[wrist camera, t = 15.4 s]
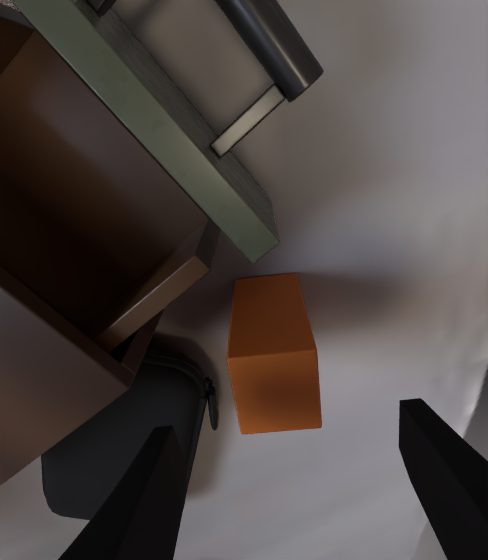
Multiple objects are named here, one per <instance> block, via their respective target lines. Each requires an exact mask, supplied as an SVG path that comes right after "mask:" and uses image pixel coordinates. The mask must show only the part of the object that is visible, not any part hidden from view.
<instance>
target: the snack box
mask: <svg viewBox="0 0 488 560" xmlns="http://www.w3.org/2000/svg"><path fill="white" fill-rule="evenodd" d="M227 364H228V369H229V375H230V380H231V385H232V390H233V395H234V400H235V405H236V410H237V416H238V421H239V426H240V431H241V434H254V433H266V432H278V431H290V430H302V429H314V428H321V426H322V419H321V404H320V388H319V372H318V356H317V348H316V345H315V341H314V337H313V333H312V330H311V326H310V322H309V318H308V314H307V311H306V307H305V303H304V299H303V296H302V292H301V288H300V284H299V281H298V277H297V274H296V273H289V274H281V275H272V276H263V277H255V278H246V279H237V280H235V281H234V291H233V301H232V311H231V321H230V331H229V341H228V351H227Z"/></svg>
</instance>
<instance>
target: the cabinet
mask: <svg viewBox="0 0 488 560" xmlns="http://www.w3.org/2000/svg"><path fill="white" fill-rule="evenodd" d="M163 310H164V309H162V310H161V311H160V312H159V313H158V314H156V315H155V316H154V317H153V318H151V319H150V320H149V321H148V322H146V323H145V324H144V325H143V326H142V327H140V328H139V329H138V330H137V331H135V332H134V333H133V334H132V335H130V336H129V337H128V338H127V339H125V340H124V341H123V342H122V343H121V344H119V345H118V346H117V347H116V348H114V349H113V350H112V351H111V352H109V353H107V352H105V351H104V350H103V349H102V348H101V347H99V346H98V345H97V344H96V343H94V342H93V341H92V340H91V339H89V338H88V337H87V336H86V335H85V334H83V333H82V332H81V331H80V330H78V329H77V328H76V327H75V326H73V325H72V324H71V323H70V322H69V321H67V320H66V319H65V318H64V317H62V316H61V315H60V314H59V313H57V312H56V311H55V310H54V309H53V308H51V307H50V306H49V305H48V304H46V303H45V302H44V301H43V300H41V299H40V298H39V297H38V296H36V295H35V294H34V293H33V292H32V291H30V290H29V289H28V288H27V287H25V286H24V285H23V284H22V283H20V282H19V281H18V280H17V279H16V278H14V277H13V276H12V275H11V274H9V273H8V272H7V271H6V270H4V269H3V268H2V267H1V266H0V485H1V484H3V483H4V482H5V481H7V480H8V479H9V478H11V477H12V476H14V475H15V474H16V473H18V472H19V471H20V470H22V469H23V468H24V467H26V466H27V465H28V464H30V463H31V462H32V461H34V460H35V459H36V458H38V457H39V456H40V455H42V454H43V453H44V452H46V451H47V450H48V449H50V448H51V447H52V446H54V445H55V444H56V443H58V442H59V441H60V440H62V439H63V438H64V437H66V436H67V435H68V434H70V433H71V432H72V431H74V430H75V429H76V428H78V427H79V426H80V425H82V424H83V423H84V422H86V421H87V420H89V419H90V418H91V417H93V416H94V415H95V414H97V413H98V412H99V411H101V410H102V409H103V408H105V407H106V406H107V405H109V404H110V403H111V402H113V401H114V400H115V399H117V398H118V397H119V396H121V395H122V394H123V393H125V392H126V391H127V390H129V389H130V386H131V384H132V382H133V379H134V377H135V375H136V373H137V370H138V368H139V366H140V363H141V361H142V359H143V356H144V354H145V352H146V349H147V347H148V345H149V343H150V340H151V338H152V336H153V333H154V331H155V329H156V326H157V324H158V322H159V319H160V317H161V315H162V313H163Z"/></svg>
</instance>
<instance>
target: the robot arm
mask: <svg viewBox="0 0 488 560" xmlns="http://www.w3.org/2000/svg"><path fill="white" fill-rule="evenodd" d="M399 449H400V452H401V455H402V458H403V461H404V464H405V467H406V470H407V472H408V475H409V478H410V481H411V483H412V485H413V487H414V490H415V492H416V494H417V496H418V498H419V500H420V502H421V505H422V507H423V509H424V511H425V513H426V515H427V517H428V519H429V522H430V523H431V526H432V528H433V530H434V532H435V534H436V536H437V538H438V540H439V542H440V545H441V547H442V549H443V551H444V553H445V555H446V557H447V559H448V560H488V461H487V460H486V459H485V458H484V457H482V456H481V455H480V454H479V453H478V452H477V451H476V450H474V449H473V448H472V447H471V446H470V445H469V444H468V443H467V442H466V441H465V440H464V439H462V438H461V437H460V436H459V435H458V434H457V433H456V432H455V431H454V430H453V429H452V428H451V427H450V426H449V425H448V424H447V423H446V422H445V421H444V420H442V419H441V418H440V417H439V416H438V415H437V414H436V413H435V412H434V411H433V410H432V409H431V408H430V407H429V406H428V405H427V404H426V403H425V402H424V401H423V400H422V399H421V398H418V399H409V400H400V415H399ZM186 480H187V465H186V462H185V459H184V456H183V453H182V450H181V448H180V445H179V442H178V439H177V436H176V433H175V430H174V427H173V425H170V426H161V427H155V428H154V429H153V430H152V432H151V433H150V435H149V436H148V438H147V439H146V441H145V442H144V444H143V446H142V447H141V449H140V450H139V452H138V453H137V455H136V456H135V458H134V459H133V461H132V463H131V464H130V466H129V467H128V469H127V470H126V472H125V473H124V474H123V476H122V477H121V479H120V480H119V482H118V483H117V485H116V486H115V488H114V489H113V490H112V492H111V493H110V495H109V496H108V497H107V499H106V500H105V501H104V503H103V504H102V505H101V507H100V508H99V509H98V511H97V512H96V513H95V515H94V516H93V517H92V519H91V520H90V521H89V523H88V524H87V525H86V526H85V528H84V529H83V530H82V532H81V533H80V534H79V535H78V536H77V538H76V539H75V540H74V541H73V542H72V544H71V545H70V546H69V547H68V548H67V550H66V551H65V552H64V553H63V554H62V555H61V557H60V558H59V559H58V560H173V557H174V552H175V547H176V542H177V537H178V532H179V527H180V522H181V517H182V512H183V507H184V501H185V491H186Z"/></svg>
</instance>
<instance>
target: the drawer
mask: <svg viewBox="0 0 488 560" xmlns="http://www.w3.org/2000/svg"><path fill="white" fill-rule="evenodd" d="M10 1H11V2H12V3H13V4H14V5H15V6H16V7H17V8H18V9H19V10H20V11H21V12H20V11H17V10H15V9H13V8H11V7H8V6H6V5H3V4H1V3H0V266H1V267H2V268H3V269H4V270H6V271H7V272H8V273H9V274H11V275H12V276H13V277H14V278H16V279H17V280H18V281H19V282H20V283H22V284H23V285H24V286H25V287H27V288H28V289H29V290H30V291H32V292H33V293H34V294H35V295H36V296H38V297H39V298H40V299H41V300H43V301H44V302H45V303H46V304H48V305H49V306H50V307H51V308H53V309H54V310H55V311H56V312H57V313H59V314H60V315H61V316H62V317H64V318H65V319H66V320H67V321H69V322H70V323H71V324H72V325H73V326H75V327H76V328H77V329H78V330H80V331H81V332H82V333H83V334H85V335H86V336H87V337H88V338H89V339H91V340H92V341H93V342H94V343H96V344H97V345H98V346H99V347H101V348H102V349H103V350H104V351H105V352H107V353H109V352H111V351H112V350H113V349H114V348H116V347H117V346H118V345H119V344H121V343H122V342H123V341H124V340H125V339H127V338H128V337H129V336H130V335H132V334H133V333H134V332H135V331H137V330H138V329H139V328H140V327H142V326H143V325H144V324H145V323H146V322H148V321H149V320H150V319H151V318H153V317H154V316H155V315H156V314H158V313H159V312H160V311H161V310H162V309H164V308H165V307H166V306H167V305H169V304H170V303H171V302H172V301H174V300H175V299H176V298H177V297H179V296H180V295H181V294H182V293H183V292H185V291H186V290H187V289H188V288H190V287H191V286H192V285H193V284H195V283H196V282H197V281H198V280H199V279H201V278H202V277H203V276H204V275H206V274H207V273H208V272H209V271H210V270H211V266H212V262H213V258H214V254H215V250H216V246H217V242H218V238H219V234H220V230H222V231H223V232H224V233H225V234H226V236H227V237H228V238H229V239H230V240H231V241H232V242H233V243H234V244H235V245H236V246H237V248H238V249H239V250H240V251H241V252H242V253H243V254H244V255H245V256H246V257H247V258H248V259H249V261H250V262H251V263H255V262H256V261H257V260H259V259H260V258H261V257H262V256H264V255H265V254H266V253H268V252H269V251H270V250H271V249H273V248H274V247H275V246H276V245H278V244H279V243H280V241H279V236H278V231H277V226H276V222H275V217H274V212H273V207H272V202H271V200H270V199H269V198H268V196H267V195H266V194H265V193H264V192H263V190H262V189H261V188H260V187H259V186H258V184H257V183H256V182H255V181H254V180H253V178H252V177H251V176H250V175H249V174H248V172H247V171H246V170H245V169H244V168H243V166H242V165H241V164H240V163H239V162H238V160H237V159H236V158H235V157H234V156H233V154H232V153H231V152H230V150H231V149H232V148H233V147H234V146H235V145H236V144H237V143H238V142H240V141H241V140H242V139H243V138H244V137H245V136H246V135H247V134H248V133H249V132H250V131H251V130H253V129H254V128H255V127H256V126H257V125H258V124H259V123H260V122H261V121H262V120H263V119H264V118H265V117H267V116H268V115H269V114H270V113H271V112H272V111H273V110H274V109H275V108H276V107H277V106H278V105H280V104H281V103H282V102H283V101H284V100H285V98H286V99H287V101H288V102H289V103H290V102H292V101H293V100H295V99H296V98H297V97H298V96H300V95H301V94H302V93H303V92H304V91H305V90H306V89H308V88H309V87H310V86H311V85H312V84H313V83H314V82H315V81H316V80H317V79H318V78H319V77H320V76H321V75H322V74H323V72H324V70H323V69H322V67H321V66H320V64H319V63H318V61H317V60H316V58H315V57H314V55H313V54H312V52H311V51H310V49H309V48H308V46H307V45H306V43H305V42H304V40H303V39H302V37H301V36H300V34H299V33H298V31H297V30H296V28H295V27H294V25H293V24H292V22H291V21H290V20H289V18H288V17H287V15H286V14H285V12H284V11H283V9H282V8H281V6H280V5H279V3H278V2H277V0H214V1H215V2H216V4H217V5H218V6H219V8H220V9H221V10H222V12H223V13H224V14H225V16H226V17H227V19H228V20H229V21H230V23H231V24H232V25H233V27H234V28H235V30H236V31H237V32H238V34H239V35H240V36H241V38H242V39H243V40H244V42H245V43H246V45H247V46H248V47H249V49H250V50H251V51H252V53H253V54H254V56H255V57H256V58H257V60H258V61H259V62H260V64H261V65H262V66H263V68H264V69H265V71H266V72H267V73H268V75H269V76H270V77H271V79H272V80H273V82H274V84H273V85H271V86H270V87H269V88H268V89H267V90H266V91H265V92H264V93H263V94H262V95H261V96H260V97H259V98H258V99H257V100H256V101H255V102H254V103H253V104H251V105H250V106H249V107H248V108H247V109H246V110H245V111H244V112H243V113H242V114H241V115H240V116H239V117H238V118H237V119H236V120H235V121H234V122H233V123H231V124H230V125H229V126H228V127H227V128H226V129H225V130H224V131H223V132H222V133H221V134H220V135H219V136H217V135H216V134H215V133H214V131H213V130H212V129H211V128H210V127H209V125H208V124H207V123H206V122H205V121H204V119H203V118H202V117H201V116H200V115H199V113H198V112H197V111H196V110H195V109H194V107H193V106H192V105H191V104H190V103H189V101H188V100H187V99H186V98H185V97H184V95H183V94H182V93H181V92H180V91H179V89H178V88H177V87H176V86H175V85H174V83H173V82H172V81H171V80H170V79H169V77H168V76H167V75H166V74H165V73H164V71H163V70H162V69H161V68H160V67H159V65H158V64H157V63H156V62H155V61H154V59H153V58H152V57H151V56H150V55H149V53H148V52H147V51H146V50H145V49H144V47H143V46H142V45H141V44H140V43H139V41H138V40H137V39H136V38H135V37H134V35H133V34H132V33H131V32H130V31H129V29H128V28H127V27H126V26H125V25H124V23H123V22H122V21H121V20H120V19H119V17H118V16H117V15H116V14H115V12H114V11H113V10H112V9H111V6H112V5H113V4H114V3H115V1H116V0H10Z"/></svg>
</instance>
